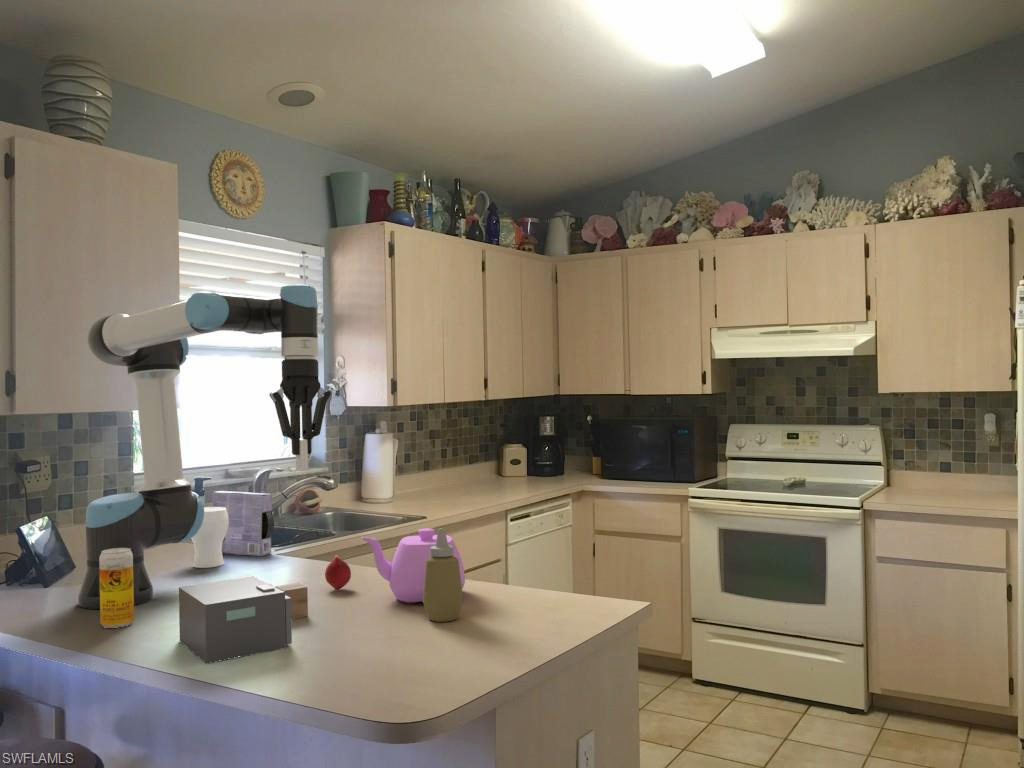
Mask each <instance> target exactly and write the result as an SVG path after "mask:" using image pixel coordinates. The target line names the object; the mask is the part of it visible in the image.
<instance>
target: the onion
mask: <svg viewBox="0 0 1024 768" xmlns="http://www.w3.org/2000/svg"><path fill="white" fill-rule="evenodd" d="M351 570H352V569H351V568H350V566H349V564H348V563H347V562H346V561H345V560H343V559H342V558H341V557H339V556H338V555H335V556H334V559H333V560H332V561H331V562H330V563H329V564H328V565H327V567H326V569H325V573H324V575H325V581H326V582H327V583H328V584H329V585H330V586H331V587H332V588H333V589H334V590H336V591H340V590H341V589H342V588H344V587H345V586H346V585H348V583H349V582H350V580H351V578H352V577H351V576H352V572H351ZM339 589H340V590H339Z"/></svg>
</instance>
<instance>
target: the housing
mask: <svg viewBox="0 0 1024 768" xmlns="http://www.w3.org/2000/svg"><path fill="white" fill-rule="evenodd" d="M178 609H179V611H178V614H179V616H178V619H179V621H178V623H179V642H180V641H181V642H180V643H181V644H183V645H184V646H185V645H186V646H187V647H188V650H190V651H191V652H192V651H193V652H194V653H195V654H194V653H193V652H192V653H193V654H194V655H196V656H197V657H198V656H199V657H200V658H201V659H202V660H201V659H200V658H199V657H198V658H199V659H200V660H201V661H202V662H204V663H205V664H206V663H208V664H211V663H210V662H213V663H216V662H215V661H218V662H220V661H219V660H223V661H225V660H224V659H228V658H233V659H235V658H234V657H238V656H243V657H245V656H244V655H248V656H251V654H253V655H256V654H257V653H258V654H262V653H263V654H264V653H267V651H268V652H271V651H272V652H273V651H276V650H277V649H278V650H281V649H282V648H283V649H286V648H287V645H286V620H285V592H284V591H282V590H280V589H278V588H276V587H275V586H274V585H271V584H270V583H267V582H265V581H264V580H261V579H260V578H257V576H256V577H255V576H245V577H238V578H233V579H226V580H218V581H212V582H205V583H199V584H198V583H197V584H192V585H191V584H190V585H185V586H184V585H183V586H179V587H178ZM186 646H185V647H186ZM187 647H186V648H187ZM278 650H277V651H278ZM238 658H239V657H238ZM228 660H229V659H228Z"/></svg>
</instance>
